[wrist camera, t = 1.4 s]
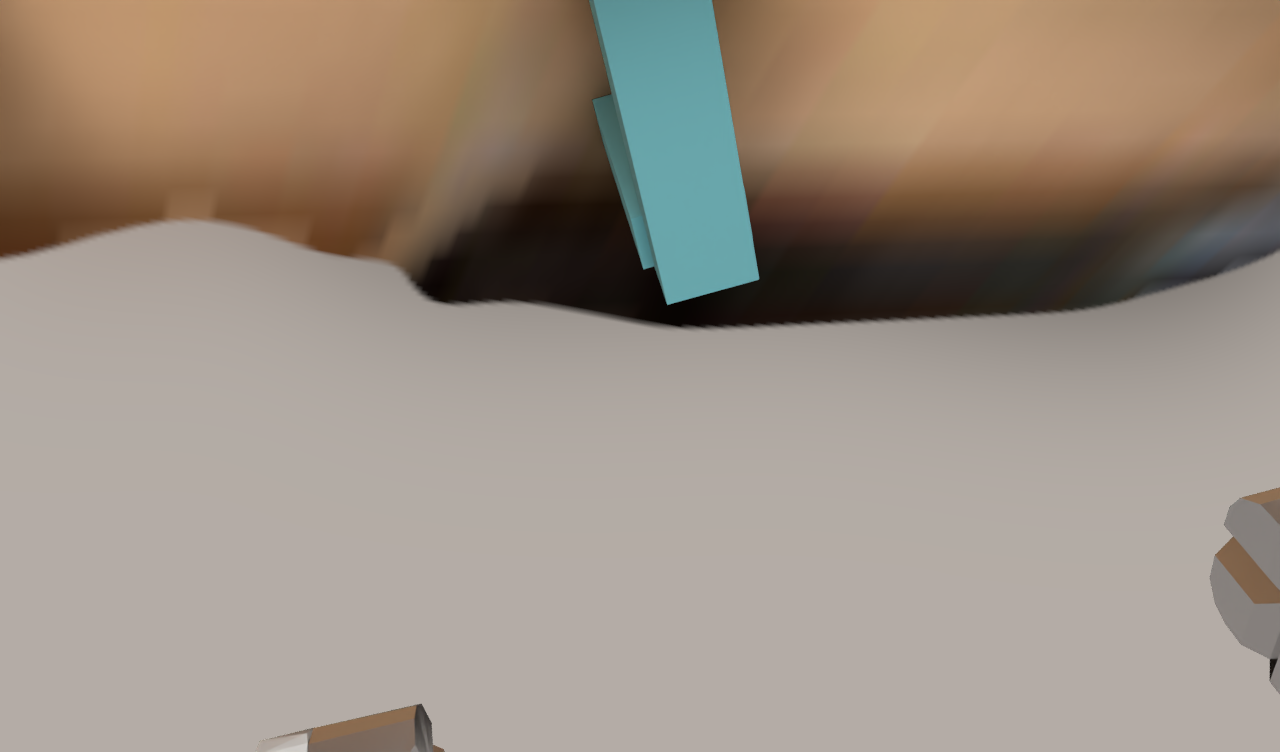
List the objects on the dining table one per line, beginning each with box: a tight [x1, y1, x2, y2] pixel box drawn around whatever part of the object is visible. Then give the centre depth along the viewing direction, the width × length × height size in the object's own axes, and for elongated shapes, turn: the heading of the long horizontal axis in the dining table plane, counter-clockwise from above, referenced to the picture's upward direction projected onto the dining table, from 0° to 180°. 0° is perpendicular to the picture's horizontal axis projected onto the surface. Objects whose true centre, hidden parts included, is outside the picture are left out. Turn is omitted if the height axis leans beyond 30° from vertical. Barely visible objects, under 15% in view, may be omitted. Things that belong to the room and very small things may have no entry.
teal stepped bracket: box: [589, 0, 759, 305], centre depth 27 cm, size 3×12×9 cm, turn 12°
